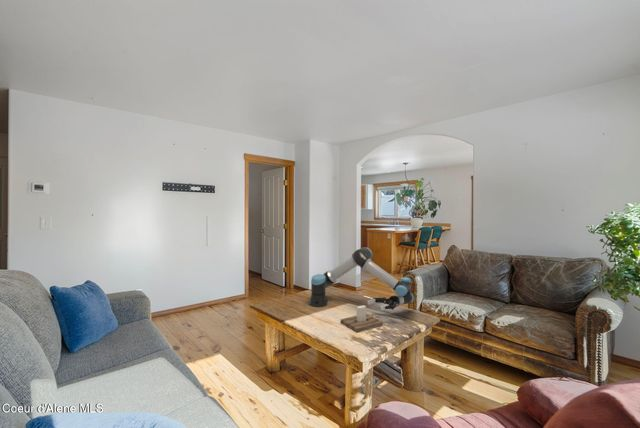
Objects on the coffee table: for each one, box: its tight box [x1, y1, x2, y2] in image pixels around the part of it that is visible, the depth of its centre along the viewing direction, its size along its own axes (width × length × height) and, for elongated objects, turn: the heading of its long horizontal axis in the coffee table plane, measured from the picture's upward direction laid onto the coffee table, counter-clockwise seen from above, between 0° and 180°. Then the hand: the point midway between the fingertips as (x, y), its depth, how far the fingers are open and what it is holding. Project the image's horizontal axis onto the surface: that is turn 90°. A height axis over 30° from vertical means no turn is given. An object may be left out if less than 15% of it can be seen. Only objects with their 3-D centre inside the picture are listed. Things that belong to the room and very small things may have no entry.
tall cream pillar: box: [356, 305, 367, 323], centre depth 196 cm, size 3×6×12 cm, turn 121°
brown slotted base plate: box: [340, 313, 383, 333], centre depth 197 cm, size 18×22×2 cm
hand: (374, 305), depth 203 cm, fingers open, 13 cm apart
